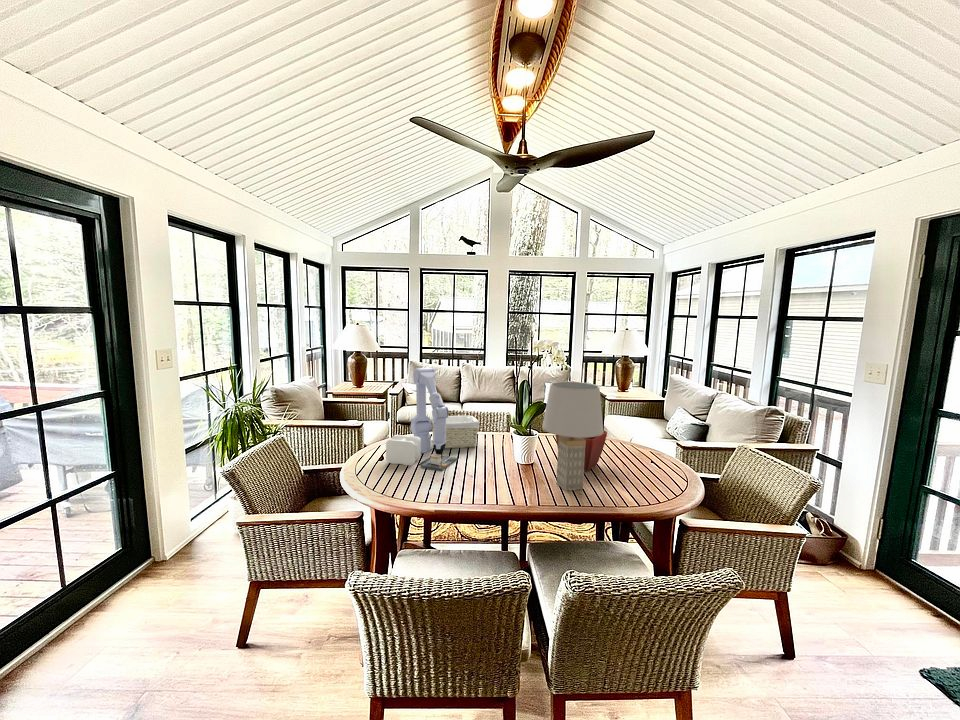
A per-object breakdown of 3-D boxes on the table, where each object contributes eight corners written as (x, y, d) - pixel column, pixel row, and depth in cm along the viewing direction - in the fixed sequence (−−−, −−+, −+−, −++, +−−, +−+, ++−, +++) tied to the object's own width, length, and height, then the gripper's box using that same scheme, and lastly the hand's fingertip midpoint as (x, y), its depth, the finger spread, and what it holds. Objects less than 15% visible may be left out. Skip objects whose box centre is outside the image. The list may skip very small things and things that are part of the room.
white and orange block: (433, 461, 206) (433, 453, 206) (441, 462, 205) (441, 454, 204) (430, 463, 203) (430, 455, 203) (438, 464, 202) (438, 456, 202)
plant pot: (590, 475, 198) (592, 439, 196) (552, 465, 210) (554, 431, 208) (606, 464, 213) (608, 431, 212) (570, 456, 225) (571, 424, 223)
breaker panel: (437, 456, 218) (437, 453, 218) (457, 460, 214) (457, 456, 214) (420, 467, 202) (420, 463, 202) (441, 471, 198) (442, 467, 198)
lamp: (555, 501, 169) (560, 391, 165) (530, 477, 193) (534, 380, 189) (611, 496, 176) (618, 389, 172) (581, 473, 200) (586, 380, 196)
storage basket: (471, 439, 250) (472, 414, 248) (479, 448, 235) (480, 421, 233) (430, 441, 243) (430, 416, 242) (435, 450, 228) (436, 423, 226)
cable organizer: (383, 463, 206) (384, 439, 205) (392, 456, 216) (392, 433, 215) (414, 466, 203) (414, 442, 202) (421, 459, 213) (421, 436, 212)
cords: (433, 456, 219) (433, 454, 218) (436, 456, 218) (436, 455, 218) (418, 465, 205) (418, 463, 205) (421, 466, 204) (421, 464, 204)
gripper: (433, 427, 213) (432, 454, 214) (429, 435, 199) (429, 464, 200) (447, 427, 213) (446, 454, 214) (445, 436, 199) (444, 464, 200)
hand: (439, 459), depth 207 cm, fingers closed
